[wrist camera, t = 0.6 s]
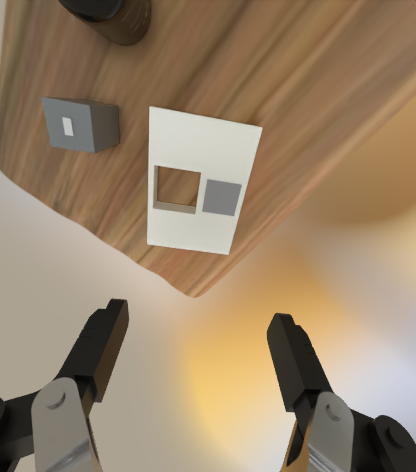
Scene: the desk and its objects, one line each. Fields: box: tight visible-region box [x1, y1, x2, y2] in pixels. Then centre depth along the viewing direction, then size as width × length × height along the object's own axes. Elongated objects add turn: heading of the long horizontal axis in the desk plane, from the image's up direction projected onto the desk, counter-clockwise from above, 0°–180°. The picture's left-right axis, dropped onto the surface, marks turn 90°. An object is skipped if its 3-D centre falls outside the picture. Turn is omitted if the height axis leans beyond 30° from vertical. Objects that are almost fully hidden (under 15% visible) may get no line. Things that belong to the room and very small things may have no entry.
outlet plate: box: [147, 106, 262, 255], centre depth 32 cm, size 20×14×3 cm
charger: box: [41, 97, 120, 153], centre depth 25 cm, size 4×4×8 cm
